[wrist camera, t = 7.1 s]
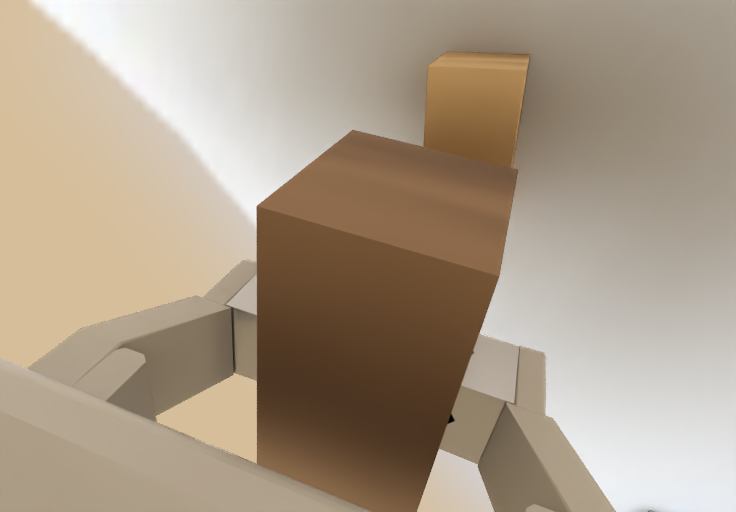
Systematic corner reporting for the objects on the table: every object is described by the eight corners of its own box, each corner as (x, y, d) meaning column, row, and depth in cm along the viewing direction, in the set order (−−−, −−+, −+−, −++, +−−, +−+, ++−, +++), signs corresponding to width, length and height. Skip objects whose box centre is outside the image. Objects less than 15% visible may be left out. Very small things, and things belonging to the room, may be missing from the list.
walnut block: (352, 129, 10) (256, 205, 7) (517, 170, 9) (499, 276, 6) (326, 361, 14) (256, 480, 11) (442, 402, 13) (405, 543, 10)
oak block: (447, 51, 21) (427, 65, 18) (530, 54, 20) (525, 70, 17) (437, 197, 24) (419, 231, 21) (506, 205, 23) (499, 243, 20)
